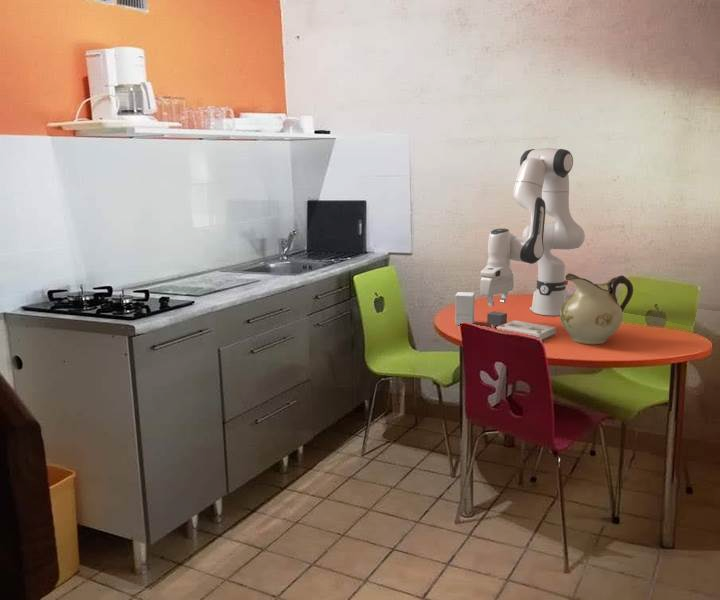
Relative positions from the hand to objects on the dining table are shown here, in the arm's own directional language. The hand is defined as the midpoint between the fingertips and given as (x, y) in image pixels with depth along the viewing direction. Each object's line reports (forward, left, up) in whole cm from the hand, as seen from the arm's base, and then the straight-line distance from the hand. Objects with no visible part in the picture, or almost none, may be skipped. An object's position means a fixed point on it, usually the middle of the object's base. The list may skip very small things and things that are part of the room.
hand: (497, 304), depth 283 cm
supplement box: (+1, -14, -10) cm, 17 cm away
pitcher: (-8, +36, -10) cm, 38 cm away
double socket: (+1, +14, -10) cm, 17 cm away
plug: (-1, 0, -10) cm, 10 cm away
